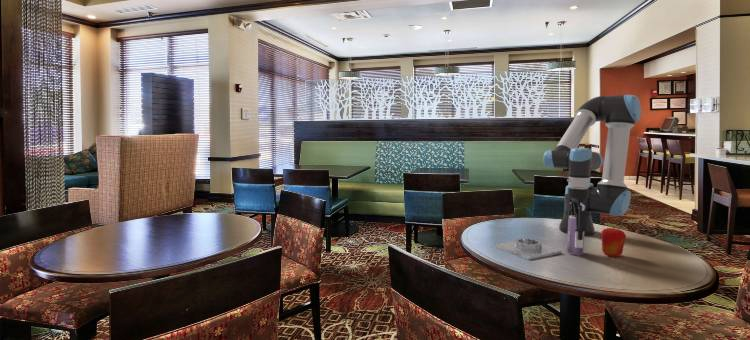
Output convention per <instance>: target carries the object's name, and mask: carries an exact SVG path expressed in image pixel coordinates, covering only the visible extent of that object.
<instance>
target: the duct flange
mask: <svg viewBox="0 0 750 340" xmlns="http://www.w3.org/2000/svg"><path fill="white" fill-rule="evenodd" d="M494 246H495V248H496V249H499V250H502V251H504V252H507V253H510V254H512V255H515V256H517V257H520V258H522V259H526V260H528V261H530V260H536V259H540V258H545V257H550V256H555V255H561V254H563V250H561V249H558V248H555V247H552V246H549V245H546V244H543V243H542V242H541V240H537V239H534V238H528V237H526V238H525V237H524V238H523V237H522V238H521V237H520V238H516V239H515V240H514V241H507V242H500V243H496V244H495V245H494Z"/></svg>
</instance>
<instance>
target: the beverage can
mask: <svg viewBox="0 0 750 340" xmlns="http://www.w3.org/2000/svg"><path fill="white" fill-rule="evenodd" d="M575 230H577V226H576V215H570V216H569V219H568V233H567V236H566V237H567V240H566V252H567V254H570V255H572V256H582V255H583V254H584V247H585V235H584V236H583V248H575V234H576V231H575ZM584 233H585V231H584Z"/></svg>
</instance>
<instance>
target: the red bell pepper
mask: <svg viewBox="0 0 750 340" xmlns="http://www.w3.org/2000/svg"><path fill="white" fill-rule="evenodd" d="M600 236H601V237H600V240H601V251H602V253H603V254H604V255H605V256H606V257H610V258H617V257H619V256H621V255H622V254H623V252H624V246H625V243H626V238H627V235H626V233H625V232H624V231H623V230H621V229H618V228H615V226H612V227H609V228H608V227H607V228H603V229H602V231H601V233H600Z"/></svg>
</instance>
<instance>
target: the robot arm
mask: <svg viewBox="0 0 750 340" xmlns="http://www.w3.org/2000/svg"><path fill="white" fill-rule="evenodd" d="M641 117H642V105H641V101H640V99H639V97H638V96H637V95H633V94H618V95H617V94H616V95H600V96H596V97H593V98H590V99H589V100H587V101H586V102H584V103H583V104H581V106H579V108H578V109H577V110H576V111H575V113H574V116H573V120H572V122H571V123H570V125H569V126H568V128H567V129H566V131H565V133H564V134H563V136H562V137H561V138H560V140H559V142H558V143H557V145H556V146H555V148H554V149H549V150H546V151H544V154H543V156H542V159H543V165H544V166H545V167H546V168H552V169H561V170H562V169H564V170H568V178H566V181H567V183H568V185H566V186H565V193H564V205H563V206H564V207H563V210H564V212H563V216H562V218H561V220H560V223H559V231H560V232H562V233H566V234H568V219H569V216H570V215H576V226H577V230H575V231H576V234H575V248H583V236H584V237H585V236H590V235H594V234H595V227H594V223H593V219H592V213H597V214H602V215H603V214H604V215H609V216H619V217H620V216H623V215H625V213H626V212H627V211H628V209H629V207H630V205H631V199H632V195H631V194H632V193H631V191H630V190H628V186H627V185H626V184H625V173H626V165H627V157H628V152H629V151H628V150H629V144H630V143H629V142H630V133H631V129H632V128H634V127H635V126H636V122H639V121H640V120H641ZM596 122H604V125H605V126H606V128H607V129H608V130H607V135H606V142H605V143H606V144H605V145H606V146H605V151H604V158H603V156H602V154H601V153H599V152H597V151H592V149H591V148H588V147H587V148H586V147H579V145H580V143H581V142H582V140H583V139H584V137H585V135H586V134H587V132H588V131H589V129H590V128H591V127H592V126H594V125H595V124H596ZM602 167H603V169H602V177H601V180H600V181H598V183H597V185H596V187H595V186H594V183H592V182H591V172H592V171H593V172H594V171H597V170H599V169H600V168H602ZM584 231H585V233H584Z"/></svg>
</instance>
